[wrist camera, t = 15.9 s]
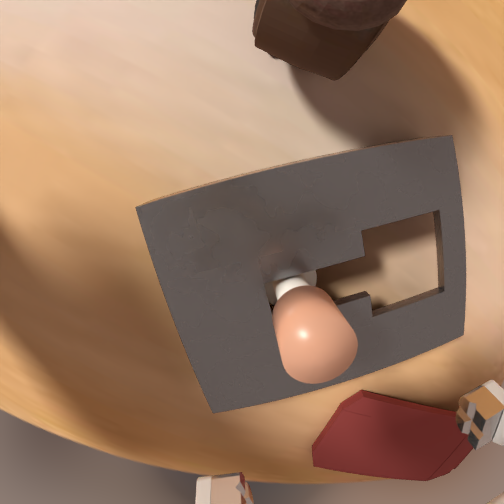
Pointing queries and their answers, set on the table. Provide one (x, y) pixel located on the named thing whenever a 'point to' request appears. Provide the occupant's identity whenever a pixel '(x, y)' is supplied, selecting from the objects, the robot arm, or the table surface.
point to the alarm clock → (321, 31)
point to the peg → (310, 329)
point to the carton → (390, 439)
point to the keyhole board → (303, 261)
